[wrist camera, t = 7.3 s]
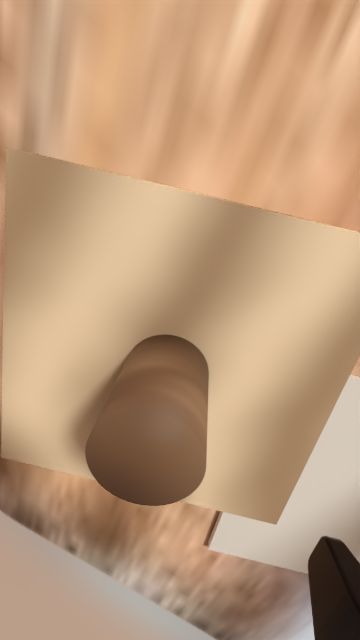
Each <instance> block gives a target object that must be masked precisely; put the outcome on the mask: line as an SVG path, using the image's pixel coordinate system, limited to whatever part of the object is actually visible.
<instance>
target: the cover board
mask: <svg viewBox="0 0 360 640" xmlns="http://www.w3.org/2000/svg"><path fill="white" fill-rule="evenodd" d="M359 356H360V232H357V231H353V230H349V229H344V228H340V227H336V226H332V225H328V224H324V223H320V222H315V221H311V220H307V219H303V218H299V217H295V216H291V215H286V214H282V213H278V212H274V211H270V210H266V209H262V208H258V207H253V206H249V205H245V204H241V203H237V202H233V201H229V200H224V199H220V198H216V197H212V196H208V195H204V194H200V193H195V192H191V191H187V190H183V189H179V188H175V187H171V186H167V185H162V184H158V183H154V182H150V181H146V180H142V179H138V178H133V177H129V176H125V175H121V174H117V173H113V172H109V171H104V170H100V169H96V168H92V167H88V166H84V165H80V164H76V163H71V162H67V161H63V160H59V159H55V158H51V157H47V156H42V155H38V154H34V153H30V152H26V151H21V150H15V149H9V148H6V190H5V247H4V304H3V362H2V419H1V458H5V459H9V460H13V461H17V462H21V463H25V464H29V465H33V466H37V467H41V468H45V469H50V470H54V471H58V472H62V473H66V474H70V475H74V476H78V477H82V478H86V479H91V480H95V481H97V482H98V483H99V484H100V485H101V486H102V487H104V488H105V489H106V490H107V491H109V492H110V493H112V494H113V495H115V496H117V497H119V498H121V499H123V500H126V501H128V502H132V503H135V504H141V505H149V506H158V505H166V504H171V503H174V502H178V501H181V502H185V503H189V504H193V505H197V506H201V507H205V508H209V509H213V510H217V511H222V512H226V513H230V514H234V515H238V516H242V517H246V518H250V519H254V520H258V521H263V522H267V523H271V524H275V525H277V522H278V520H279V518H280V516H281V514H282V512H283V510H284V508H285V506H286V504H287V502H288V500H289V498H290V496H291V494H292V492H293V490H294V488H295V486H296V484H297V482H298V480H299V478H300V476H301V474H302V472H303V470H304V468H305V466H306V463H307V461H308V459H309V457H310V455H311V453H312V451H313V449H314V447H315V445H316V443H317V441H318V439H319V437H320V435H321V433H322V431H323V429H324V427H325V425H326V423H327V421H328V419H329V417H330V415H331V413H332V411H333V409H334V406H335V404H336V402H337V400H338V398H339V396H340V394H341V392H342V390H343V388H344V386H345V384H346V382H347V380H348V378H349V376H350V374H351V372H352V370H353V368H354V366H355V364H356V362H357V360H358V358H359Z"/></svg>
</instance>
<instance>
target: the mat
mask: <svg viewBox="0 0 360 640" xmlns="http://www.w3.org/2000/svg"><path fill="white" fill-rule="evenodd" d="M322 536H329V537H333V538H337V539H340V540H341V541H342V542H344V544H345V545H346V546H347V547H348V549H349V550H350V551H351V552H352V554H353V555H354V556H355V558H356V559H357V560H358V561H359V563H360V377H358V376H354V375H350V376H349V378H348V380H347V382H346V384H345V386H344V388H343V390H342V392H341V394H340V396H339V398H338V400H337V402H336V404H335V406H334V409H333V411H332V413H331V415H330V417H329V419H328V421H327V423H326V425H325V427H324V429H323V431H322V433H321V435H320V437H319V439H318V441H317V443H316V445H315V447H314V449H313V451H312V453H311V455H310V457H309V459H308V461H307V463H306V466H305V468H304V470H303V472H302V474H301V476H300V478H299V480H298V482H297V484H296V486H295V488H294V490H293V492H292V494H291V496H290V498H289V500H288V502H287V504H286V506H285V508H284V510H283V512H282V514H281V516H280V518H279V520H278V522H277V525H275V524H271V523H267V522H263V521H258V520H254V519H250V518H246V517H242V516H238V515H234V514H230V513H226V512H222V511H220V513H219V516H218V518H217V521H216V523H215V526H214V528H213V531H212V533H211V536H210V539H209V541H208V549H209V550H213V551H217V552H221V553H225V554H229V555H233V556H237V557H241V558H245V559H249V560H253V561H257V562H261V563H265V564H269V565H273V566H277V567H281V568H285V569H289V570H293V571H297V572H301V573H305V574H308V560H309V557H310V555H311V553H312V551H313V550H314V548H315V546H316V545H317V543H318V541H319V539H320V538H321V537H322Z"/></svg>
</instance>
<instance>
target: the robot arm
mask: <svg viewBox="0 0 360 640" xmlns="http://www.w3.org/2000/svg"><path fill="white" fill-rule="evenodd" d="M308 576H309V586H310V596H311V606H312V616H313V626H314V636H315V640H360V563H359V561H358V560H357V559H356V558H355V556H354V555H353V554H352V552H351V551H350V550H349V549H348V547H347V546H346V545H345V544H344V542H342V541H341V540H340V539H337V538H333V537H329V536H322V537H321V538H320V539H319V541H318V543H317V545H316V546H315V548H314V550H313V551H312V553H311V555H310V557H309V560H308Z"/></svg>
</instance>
